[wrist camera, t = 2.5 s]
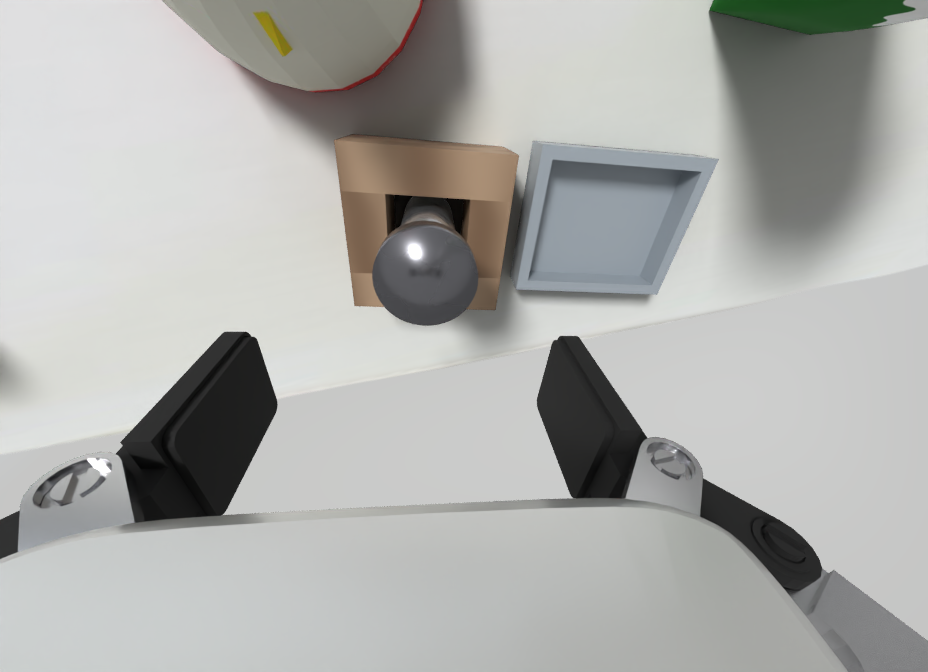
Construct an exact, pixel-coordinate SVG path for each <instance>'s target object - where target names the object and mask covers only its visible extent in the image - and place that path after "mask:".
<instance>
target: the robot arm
mask: <svg viewBox="0 0 928 672" xmlns="http://www.w3.org/2000/svg"><path fill="white" fill-rule="evenodd" d="M537 407H538V410H539V413H540V416H541V418H542V421H543V423H544V426H545V429H546V431H547V434H548V437H549V439H550V442H551V444H552V447H553V450H554V453H555V455H556V458H557V460H558V463H559V466H560V468H561V471H562V474H563V476H564V479H565V481H566V484H567V487H568V490H569V492H570V494H571V496H572V497H573V498H576V499H540V500H517V501H494V502H471V503H449V504H428V505H409V506H389V507H388V506H387V507H368V508H347V509H328V510H309V511H292V512H275V513H274V512H273V513H254V514H237V515H223V514H224V513H225V511H226V509H227V508H228V506H229V504H230V502H231V500H232V498H233V496H234V494H235V492H236V490H237V488H238V486H239V484H240V482H241V480H242V478H243V476H244V474H245V472H246V470H247V468H248V466H249V465H250V462H251V461H252V458H253V457H254V455H255V453H256V451H257V449H258V447H259V445H260V443H261V441H262V439H263V437H264V435H265V433H266V431H267V429H268V427H269V425H270V423H271V421H272V419H273V417H274V415H275V413H276V410H277V399H276V396H275V393H274V390H273V387H272V384H271V381H270V378H269V375H268V372H267V369H266V366H265V362H264V359H263V356H262V353H261V350H260V347H259V344H258V341H257V339H256V338H255V337H251V335H250V334H249V333H247V332H224V333H223V334H221V336H220V337H219V338H218V339H217V340H216V341H215V342H214V343H213V344H212V345H211V346H210V347H209V348H208V349H207V350H206V352H205V353H204V354H203V355H202V356H201V357H200V358H199V359H198V360H197V361H196V362H195V363H194V364H193V365H192V366H191V368H190V369H189V370H188V371H187V372H186V373H185V374H184V375H183V376H182V377H181V378H180V379H179V380H178V381H177V383H176V384H175V385H174V386H173V387H172V388H171V389H170V390H169V391H168V392H167V393H166V394H165V395H164V396H163V397H162V399H161V400H160V401H159V402H158V403H157V404H156V405H155V406H154V407H153V408H152V409H151V410H150V411H149V412H148V413H147V415H146V416H145V417H144V418H143V419H142V420H141V421H140V422H139V423H138V424H137V425H136V426H135V427H134V428H133V429H132V431H131V432H130V433H129V434H128V435H127V436H126V437H125V438H124V439H123V440H122V441H121V444H122V445H123V446H122V448H121V449H120V450H119V451H118V452H117V453H116V454H113V453H111V452H97V453H92V454H87V455H83V456H80V457H77V458H74V459H72V460H70V461H67V462H65V463H63V464H61V465H59V466H57V467H56V468H54V469H52V470H51V471H49V472H48V473H46V474H45V475H43V476H42V477H41V478H40V479H38V480H37V481H36V482H35V483H34V484H33V485H31V487H30V488H29V489H28V491H27V492H26V493H25V494H24V496H23V498H22V501H21V504H20V511H18V512H16V513H13V514H11V515H9V516H7V517H5V518H3V519H1V520H0V672H928V641H927V640H926V639H925V638H923V637H922V636H921V635H919V634H918V633H917V632H915V631H914V630H913V629H911V628H910V627H909V626H907V625H906V624H905V623H903V622H902V621H901V620H899V619H898V618H897V617H895V616H894V615H893V614H891V613H890V612H889V611H887V610H886V609H885V608H883V607H882V606H881V605H880V604H878V603H877V602H876V601H874V600H873V599H872V598H870V597H869V596H868V595H866V594H865V593H864V592H862V591H861V590H860V589H858V588H857V587H855V586H854V585H853V584H851V583H850V582H849V581H848V580H846V579H845V578H844V577H842V576H841V575H840V574H838V573H837V572H836V571H834V570H833V571H832V572H830V573H827V572H826V571H825V570H824V569H822V567H821V563H820V560H819V558H818V556H817V555H816V553H815V551H814V550H813V548H812V547H811V546H810V545H809V544H808V543H807V542H806V540H805V539H804V538H803V537H802V536H801V535H799V534H798V533H797V532H796V531H795V530H794V529H792V528H791V527H789V526H788V525H786V524H785V523H783V522H782V521H780V520H778V519H776V518H775V517H773V516H771V515H769V514H767V513H765V512H763V511H762V510H760V509H758V508H756V507H754V506H752V505H751V504H749V503H747V502H745V501H743V500H742V499H740V498H738V497H736V496H734V495H732V494H731V493H729V492H726V491H725V490H723V489H721V488H720V487H718V486H716V485H714V484H712V483H710V482H709V481H707V480H705V479H703V472H702V468H701V466H700V464H699V462H698V461H697V459H696V458H695V457H694V456H693V455H692V454H691V453H690V452H689V451H688V450H686V449H685V448H684V447H682V446H681V445H679V444H677V443H675V442H673V441H671V440H668V439H665V438H659V437H652V438H647V437H646V435H645V434H644V432H643V431H642V429H641V428H640V426H639V425H638V423H637V422H636V420H635V419H634V417H633V416H632V414H631V413H630V411H629V410H628V409H627V407H626V406H625V404H624V403H623V401H622V400H621V398H620V397H619V395H618V394H617V392H616V391H615V390H614V388H613V387H612V385H611V384H610V382H609V381H608V379H607V378H606V376H605V375H604V373H603V372H602V371H601V369H600V368H599V366H598V365H597V363H596V362H595V360H594V359H593V357H592V356H591V354H590V353H589V351H588V350H587V349H586V347H585V346H584V344H583V343H582V341H581V340H580V338H579V337H577V336H560V337H559V338H558V340H554V341H553V343H552V346H551V350H550V354H549V357H548V361H547V365H546V368H545V372H544V375H543V379H542V383H541V387H540V390H539V394H538V397H537Z"/></svg>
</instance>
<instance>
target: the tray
mask: <svg viewBox="0 0 928 672" xmlns="http://www.w3.org/2000/svg"><path fill="white" fill-rule="evenodd" d="M718 160H719V159H715V158H709V157H703V156H698V155H690V154H678V153H667V152H655V151H644V150H632V149H621V148H609V147H598V146H586V145H575V144H563V143H552V142H540V141H533V144H532V150H531V155H530V161H529V167H528V173H527V179H526V185H525V191H524V197H523V203H522V209H521V215H520V220H519V226H518V232H517V238H516V244H515V250H514V256H513V262H512V268H511V274H510V277H511V279H512V282H513V284H514V286H515V288H516V289H517V290H545V291H573V292H600V293H628V294H656V295H657V293H658V291H659V289H660V287H661V285H662V283H663V280H664V278H665V276H666V274H667V272H668V269H669V267H670V265H671V263H672V261H673V258H674V256H675V254H676V252H677V250H678V247H679V245H680V243H681V241H682V239H683V237H684V234H685V232H686V230H687V228H688V226H689V223H690V221H691V219H692V217H693V215H694V212H695V210H696V208H697V206H698V204H699V201H700V199H701V197H702V195H703V193H704V191H705V188H706V186H707V184H708V182H709V180H710V177H711V175H712V173H713V171H714V169H715V166H716V164H717V162H718Z"/></svg>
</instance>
